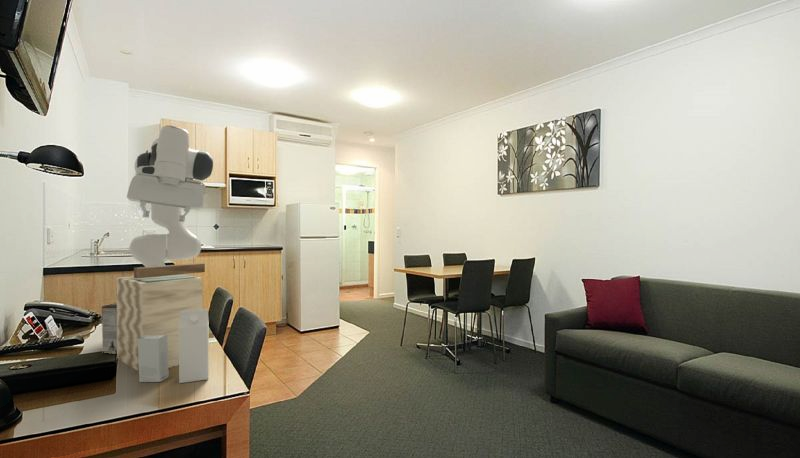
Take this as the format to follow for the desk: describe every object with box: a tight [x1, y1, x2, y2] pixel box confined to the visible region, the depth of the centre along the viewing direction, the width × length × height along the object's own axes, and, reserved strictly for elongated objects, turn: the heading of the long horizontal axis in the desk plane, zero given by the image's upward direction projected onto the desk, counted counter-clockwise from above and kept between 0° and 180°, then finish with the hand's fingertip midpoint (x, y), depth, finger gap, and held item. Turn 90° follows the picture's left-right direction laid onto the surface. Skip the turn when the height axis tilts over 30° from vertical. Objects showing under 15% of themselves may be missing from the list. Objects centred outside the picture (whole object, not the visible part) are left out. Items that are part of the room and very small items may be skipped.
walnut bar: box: [133, 262, 206, 278], centre depth 141 cm, size 4×21×3 cm, turn 141°
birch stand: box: [115, 274, 204, 372], centre depth 132 cm, size 22×17×26 cm
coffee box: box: [101, 302, 117, 352], centre depth 142 cm, size 9×6×16 cm
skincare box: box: [138, 335, 170, 383], centre depth 115 cm, size 6×4×12 cm
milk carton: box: [178, 308, 210, 384], centre depth 116 cm, size 7×7×19 cm
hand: (164, 219), depth 125 cm, fingers open, 8 cm apart
